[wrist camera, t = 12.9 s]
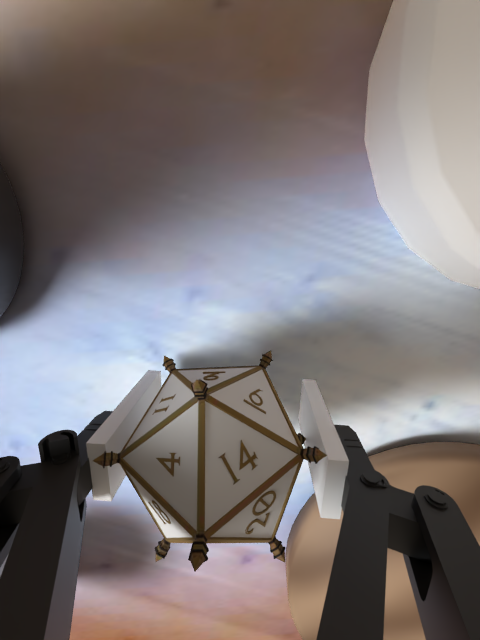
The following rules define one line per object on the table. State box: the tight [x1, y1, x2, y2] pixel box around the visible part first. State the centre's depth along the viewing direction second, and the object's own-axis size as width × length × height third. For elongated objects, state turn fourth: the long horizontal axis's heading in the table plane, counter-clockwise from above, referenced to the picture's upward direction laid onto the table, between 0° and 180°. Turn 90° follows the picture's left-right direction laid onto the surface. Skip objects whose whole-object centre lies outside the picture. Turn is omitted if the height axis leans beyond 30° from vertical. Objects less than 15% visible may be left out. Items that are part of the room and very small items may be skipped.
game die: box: [92, 351, 327, 571], centre depth 13 cm, size 9×8×10 cm
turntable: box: [286, 442, 480, 640], centre depth 17 cm, size 20×20×7 cm
